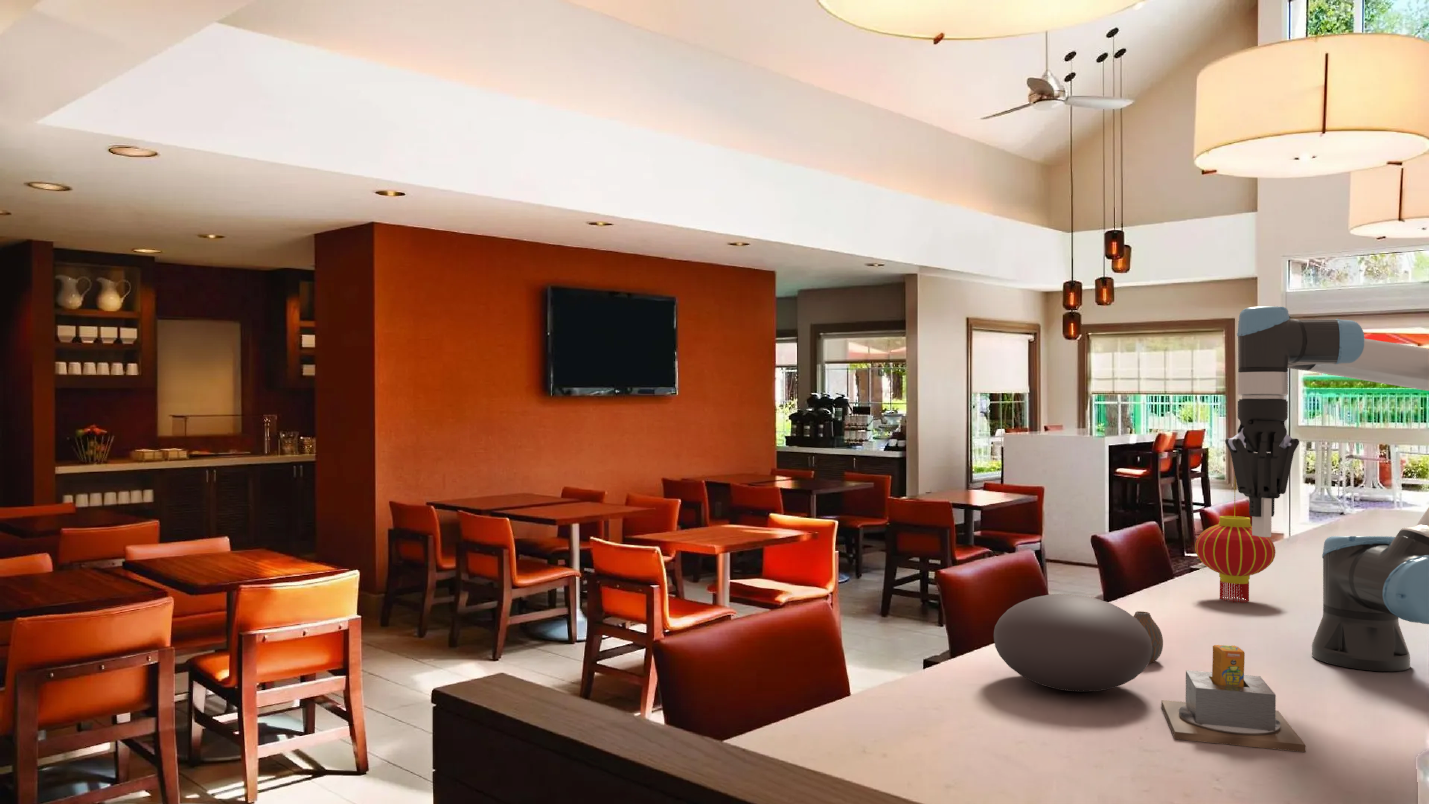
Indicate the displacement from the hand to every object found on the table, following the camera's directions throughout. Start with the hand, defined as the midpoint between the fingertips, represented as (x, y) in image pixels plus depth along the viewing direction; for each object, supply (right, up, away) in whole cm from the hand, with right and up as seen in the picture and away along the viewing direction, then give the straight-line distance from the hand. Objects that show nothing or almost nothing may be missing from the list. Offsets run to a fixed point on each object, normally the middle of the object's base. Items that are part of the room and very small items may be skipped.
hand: (1261, 535), depth 170 cm
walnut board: (-19, -24, -27) cm, 41 cm away
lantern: (+32, -25, +71) cm, 82 cm away
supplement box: (-19, -23, -27) cm, 40 cm away
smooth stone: (-35, -24, -6) cm, 43 cm away
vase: (-15, -25, +12) cm, 31 cm away
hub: (-19, -24, -27) cm, 41 cm away
